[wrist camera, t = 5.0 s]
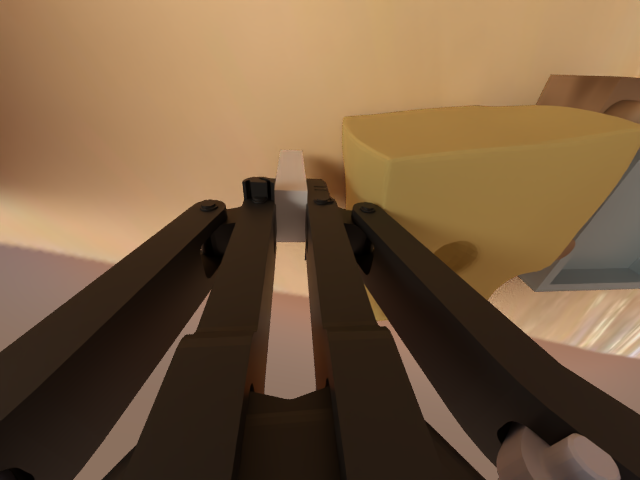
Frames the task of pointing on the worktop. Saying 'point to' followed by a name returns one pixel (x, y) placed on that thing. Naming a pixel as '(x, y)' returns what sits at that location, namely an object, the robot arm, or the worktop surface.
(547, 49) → the worktop surface
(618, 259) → the tray
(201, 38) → the worktop surface
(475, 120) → the cheese
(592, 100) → the stop rail
